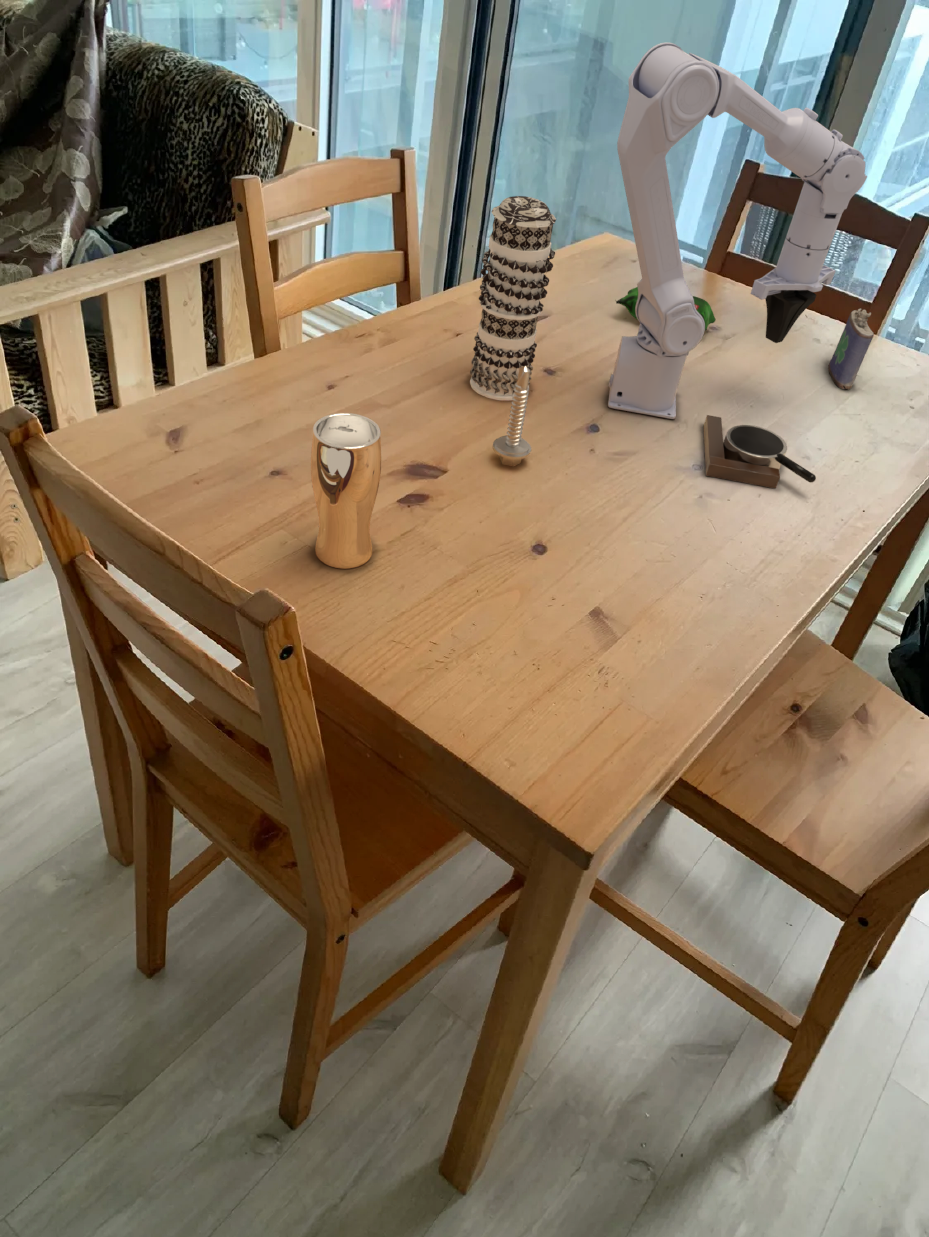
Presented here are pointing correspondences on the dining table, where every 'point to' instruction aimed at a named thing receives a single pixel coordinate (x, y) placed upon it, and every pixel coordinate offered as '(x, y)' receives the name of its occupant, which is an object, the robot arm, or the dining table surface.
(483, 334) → the decorative candle
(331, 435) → the beer glass
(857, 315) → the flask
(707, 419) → the corner stop
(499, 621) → the dining table surface
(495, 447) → the screw
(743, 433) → the steel pan
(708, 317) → the snack package
